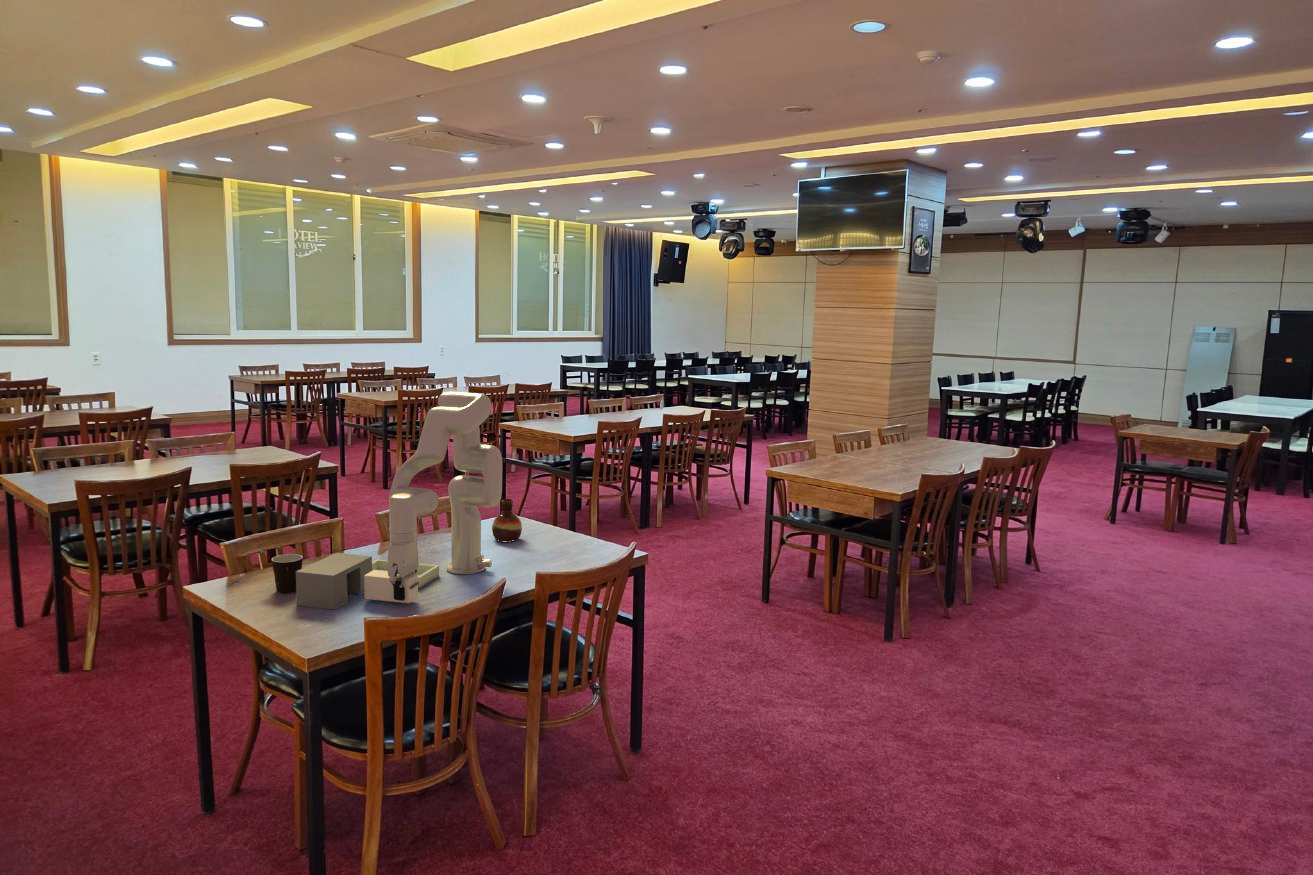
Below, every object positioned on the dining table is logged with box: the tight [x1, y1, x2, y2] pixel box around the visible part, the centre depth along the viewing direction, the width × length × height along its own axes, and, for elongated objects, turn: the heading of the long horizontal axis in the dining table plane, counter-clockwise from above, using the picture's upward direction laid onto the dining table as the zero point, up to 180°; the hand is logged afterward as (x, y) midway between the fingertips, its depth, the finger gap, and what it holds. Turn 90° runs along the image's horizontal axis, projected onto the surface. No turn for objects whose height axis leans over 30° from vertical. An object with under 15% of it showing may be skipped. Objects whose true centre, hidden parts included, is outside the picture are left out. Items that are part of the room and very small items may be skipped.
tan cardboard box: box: [364, 570, 419, 604], centre depth 242 cm, size 15×6×7 cm, turn 79°
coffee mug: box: [271, 553, 304, 595], centre depth 248 cm, size 12×9×10 cm
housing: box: [295, 552, 373, 610], centre depth 246 cm, size 12×20×10 cm, turn 168°
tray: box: [372, 558, 440, 590], centre depth 264 cm, size 22×13×4 cm, turn 78°
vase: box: [491, 498, 523, 542], centre depth 312 cm, size 11×11×15 cm
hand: (404, 595), depth 242 cm, fingers closed on tan cardboard box, 5 cm apart
